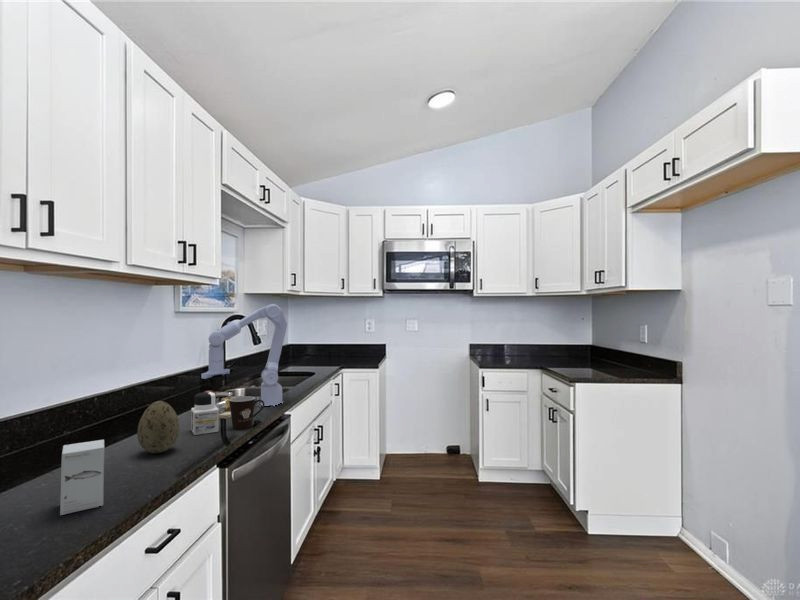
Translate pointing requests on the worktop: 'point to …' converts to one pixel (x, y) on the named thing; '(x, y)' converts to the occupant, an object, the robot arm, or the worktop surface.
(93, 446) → the supplement box
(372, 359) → the worktop surface
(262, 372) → the robot arm
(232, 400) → the coffee mug
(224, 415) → the mounting board
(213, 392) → the valve lever
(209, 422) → the container
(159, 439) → the decorative egg
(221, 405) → the valve pipe
